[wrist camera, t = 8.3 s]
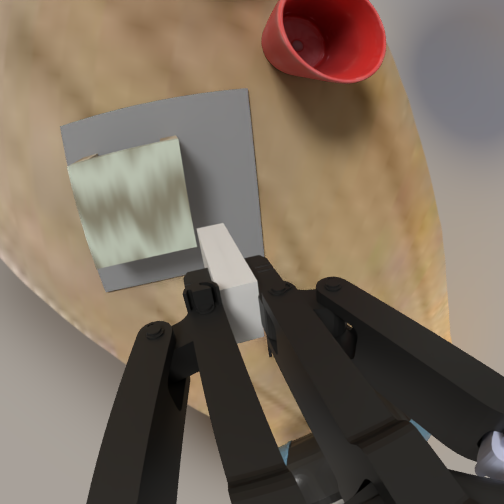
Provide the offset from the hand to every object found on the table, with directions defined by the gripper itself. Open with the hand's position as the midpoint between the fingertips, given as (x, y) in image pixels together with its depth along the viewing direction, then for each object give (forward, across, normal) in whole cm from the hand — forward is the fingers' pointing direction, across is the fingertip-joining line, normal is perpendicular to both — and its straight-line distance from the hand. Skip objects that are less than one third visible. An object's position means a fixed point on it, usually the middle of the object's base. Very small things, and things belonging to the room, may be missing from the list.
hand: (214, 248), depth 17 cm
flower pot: (+17, -14, -15) cm, 26 cm away
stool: (+14, +1, -1) cm, 14 cm away
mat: (+17, +3, 0) cm, 17 cm away
